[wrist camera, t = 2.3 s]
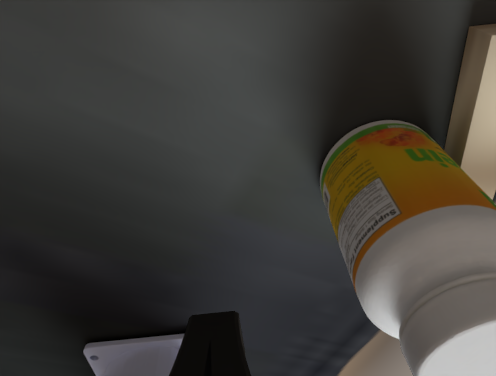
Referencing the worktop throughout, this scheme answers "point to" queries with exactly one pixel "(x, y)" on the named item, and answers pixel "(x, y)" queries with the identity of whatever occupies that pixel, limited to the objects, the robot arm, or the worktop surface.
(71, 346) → the worktop surface
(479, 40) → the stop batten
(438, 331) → the supplement bottle
